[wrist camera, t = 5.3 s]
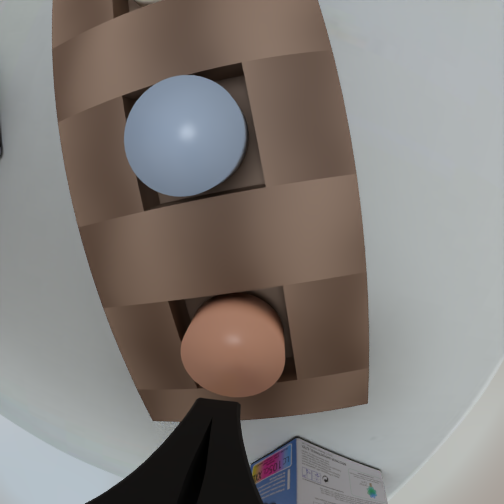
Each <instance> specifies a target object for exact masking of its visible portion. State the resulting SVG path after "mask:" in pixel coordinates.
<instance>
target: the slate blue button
mask: <svg viewBox="0 0 504 504" xmlns="http://www.w3.org/2000/svg"><path fill="white" fill-rule="evenodd" d="M124 146H125V152H126V156H127V159H128V162H129V164H130V166H131V168H132V170H133V171H134V173H135V174H136V176H137V177H138V178H139V179H140V180H141V181H142V182H143V183H144V184H146V185H147V186H148V187H150V188H151V189H153V190H155V191H157V192H159V193H162V194H165V195H169V196H177V197H182V196H192V195H196V194H199V193H202V192H204V191H207V190H209V189H211V188H213V187H215V186H217V185H219V184H220V183H222V182H224V181H225V180H226V179H228V178H229V177H230V176H231V175H232V174H233V173H234V172H235V171H236V170H237V168H238V167H239V166H240V164H241V162H242V161H243V158H244V156H245V154H246V150H247V146H248V126H247V122H246V119H245V116H244V114H243V112H242V110H241V109H240V107H239V106H238V104H237V103H236V102H235V100H234V99H233V98H232V96H231V95H230V94H229V93H228V92H227V91H226V90H225V89H224V88H223V87H222V86H220V85H219V84H217V83H216V82H214V81H212V80H210V79H207V78H204V77H200V76H195V75H180V76H174V77H170V78H167V79H164V80H162V81H160V82H158V83H156V84H155V85H153V86H152V87H150V88H149V89H148V90H147V91H145V92H144V93H143V94H142V95H141V96H140V98H139V99H138V100H137V101H136V103H135V104H134V106H133V108H132V109H131V111H130V113H129V116H128V119H127V122H126V126H125V132H124Z"/></svg>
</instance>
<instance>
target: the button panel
mask: <svg viewBox="0 0 504 504" xmlns="http://www.w3.org/2000/svg"><path fill="white" fill-rule="evenodd" d="M52 56H53V76H54V89H55V100H56V110H57V118H58V126H59V133H60V140H61V147H62V153H63V159H64V164H65V170H66V175H67V180H68V185H69V190H70V194H71V199H72V203H73V208H74V212H75V216H76V220H77V224H78V228H79V232H80V235H81V239H82V243H83V246H84V250H85V253H86V257H87V260H88V263H89V267H90V270H91V273H92V276H93V279H94V282H95V285H96V288H97V291H98V294H99V297H100V300H101V303H102V306H103V308H104V311H105V314H106V317H107V319H108V322H109V325H110V327H111V330H112V332H113V335H114V337H115V340H116V342H117V345H118V347H119V350H120V352H121V354H122V357H123V359H124V361H125V364H126V366H127V368H128V370H129V373H130V375H131V377H132V379H133V381H134V384H135V386H136V388H137V390H138V392H139V394H140V396H141V398H142V400H143V402H144V404H145V406H146V408H147V410H148V412H149V414H150V416H151V418H152V420H153V421H174V422H181V421H182V420H183V418H184V417H185V416H186V414H187V413H188V411H189V410H190V409H191V407H192V406H193V404H194V402H195V401H196V399H198V398H207V399H216V400H224V401H234V402H238V403H239V404H241V415H240V420H251V419H264V418H275V417H285V416H294V415H302V414H309V413H316V412H323V411H329V410H335V409H341V408H347V407H352V406H357V405H362V404H367V403H368V382H369V318H368V291H367V273H366V259H365V246H364V235H363V224H362V215H361V206H360V198H359V190H358V182H357V175H356V168H355V161H354V155H353V149H352V143H351V137H350V131H349V126H348V120H347V115H346V110H345V105H344V100H343V95H342V91H341V86H340V82H339V77H338V73H337V69H336V64H335V60H334V56H333V52H332V48H331V45H330V41H329V37H328V33H327V30H326V26H325V23H324V19H323V16H322V13H321V9H320V6H319V3H318V0H161V1H158V2H155V3H152V4H150V5H147V6H144V7H140V6H139V5H138V4H137V3H135V2H134V1H133V0H53V8H52ZM180 75H195V76H200V77H204V78H207V79H210V80H212V81H214V82H216V83H217V84H219V85H220V86H222V87H223V88H224V89H225V90H226V91H227V92H228V93H229V94H230V95H231V96H232V98H233V99H234V100H235V102H236V103H237V104H238V106H239V107H240V109H241V110H242V112H243V114H244V116H245V119H246V122H247V126H248V146H247V150H246V154H245V156H244V158H243V161H242V162H241V164H240V166H239V167H238V168H237V170H236V171H235V172H234V173H233V174H232V175H231V176H230V177H229V178H228V179H226V180H225V181H224V182H222V183H220V184H219V185H217V186H215V187H213V188H211V189H209V190H207V191H204V192H202V193H199V194H196V195H192V196H182V197H177V196H169V195H165V194H162V193H159V192H157V191H155V190H153V189H151V188H150V187H148V186H147V185H146V184H144V183H143V182H142V181H141V180H140V179H139V178H138V177H137V176H136V174H135V173H134V171H133V170H132V168H131V166H130V164H129V162H128V159H127V156H126V152H125V146H124V132H125V126H126V122H127V119H128V116H129V113H130V111H131V109H132V108H133V106H134V104H135V103H136V101H137V100H138V99H139V98H140V96H141V95H142V94H143V93H144V92H145V91H147V90H148V89H149V88H150V87H152V86H153V85H155V84H156V83H158V82H160V81H162V80H164V79H167V78H170V77H174V76H180ZM235 292H237V293H245V294H249V295H253V296H255V297H258V298H260V299H261V300H263V301H265V302H266V303H268V304H269V305H270V306H271V307H272V308H273V309H274V310H275V311H276V312H277V314H278V315H279V317H280V319H281V321H282V324H283V328H284V339H285V365H284V369H283V372H282V374H281V376H280V377H279V379H278V380H277V381H276V383H275V384H274V385H272V386H271V387H270V388H268V389H267V390H265V391H263V392H261V393H259V394H256V395H253V396H248V397H227V396H222V395H219V394H216V393H213V392H211V391H209V390H207V389H205V388H203V387H202V386H200V385H199V384H198V383H196V382H195V381H194V380H193V379H192V378H191V376H190V375H189V374H188V373H187V371H186V369H185V367H184V365H183V363H182V359H181V343H182V340H183V337H184V335H185V333H186V331H187V329H188V327H189V325H190V323H191V321H192V319H193V317H194V315H195V313H196V311H197V310H198V308H199V307H200V306H201V305H202V304H203V303H204V302H205V301H207V300H208V299H210V298H212V297H214V296H217V295H220V294H227V293H235Z"/></svg>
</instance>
